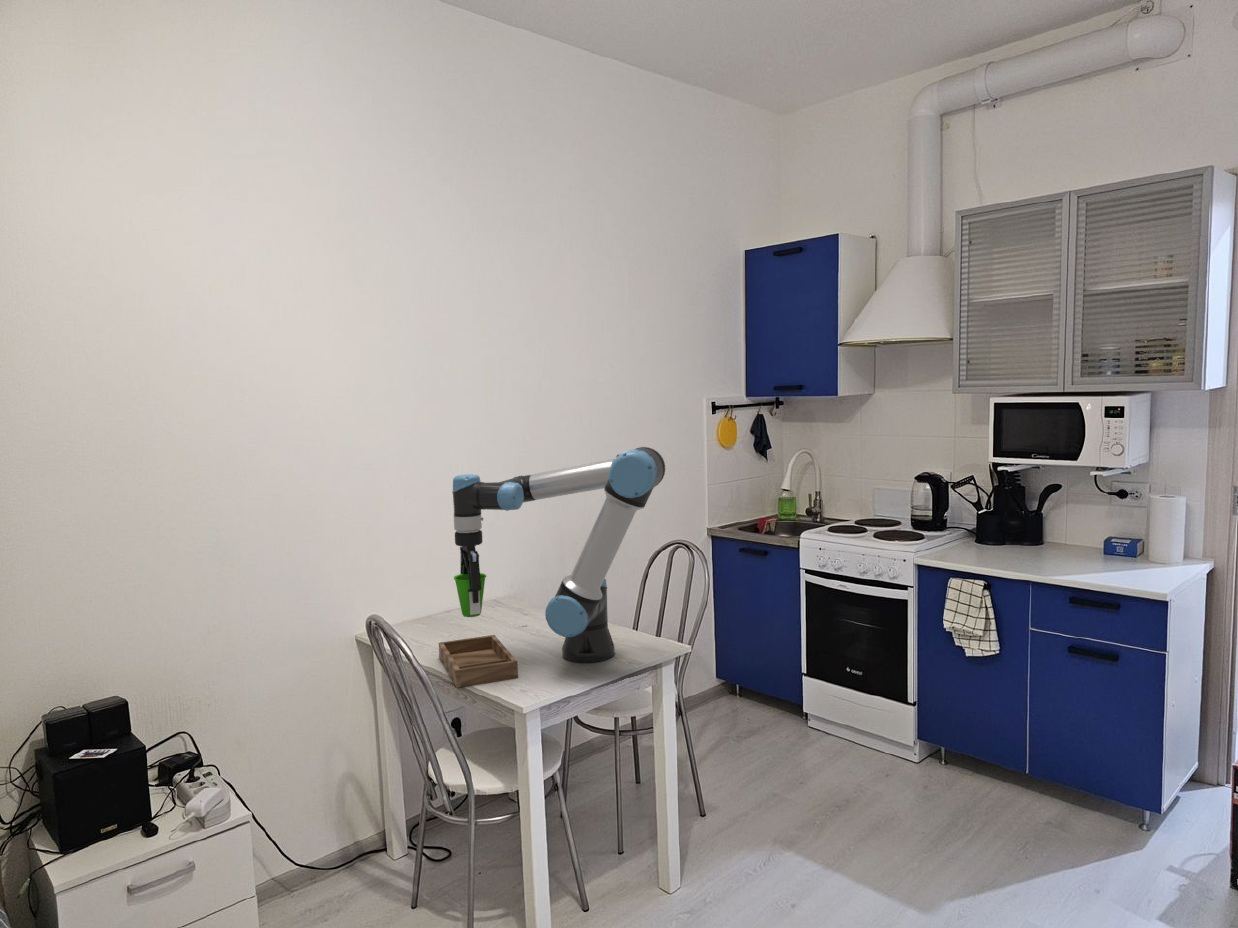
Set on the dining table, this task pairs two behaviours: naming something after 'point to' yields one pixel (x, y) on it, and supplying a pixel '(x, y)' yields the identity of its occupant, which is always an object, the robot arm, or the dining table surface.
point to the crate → (477, 661)
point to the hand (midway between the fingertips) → (471, 609)
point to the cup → (467, 593)
